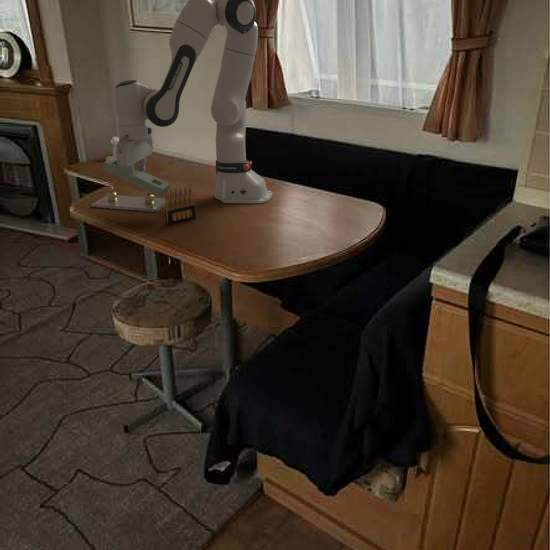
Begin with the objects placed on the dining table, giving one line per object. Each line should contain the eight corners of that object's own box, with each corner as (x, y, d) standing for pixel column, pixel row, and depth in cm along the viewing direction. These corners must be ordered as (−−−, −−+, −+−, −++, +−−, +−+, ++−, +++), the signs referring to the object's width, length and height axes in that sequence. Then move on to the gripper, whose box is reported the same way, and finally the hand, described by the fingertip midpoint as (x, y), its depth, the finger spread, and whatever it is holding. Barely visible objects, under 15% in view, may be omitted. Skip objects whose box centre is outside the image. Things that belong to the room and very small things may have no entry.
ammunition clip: (168, 225, 182) (165, 191, 176) (166, 224, 183) (162, 189, 178) (196, 219, 187) (193, 185, 182) (193, 217, 189) (191, 184, 184)
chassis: (170, 202, 205) (168, 184, 202) (157, 212, 194) (154, 193, 191) (108, 197, 210) (105, 180, 207) (91, 207, 200) (88, 189, 197)
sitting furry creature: (123, 158, 269) (120, 133, 264) (131, 161, 263) (128, 136, 258) (105, 161, 264) (102, 136, 259) (113, 164, 258) (109, 139, 253)
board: (167, 191, 188) (170, 183, 187) (160, 197, 183) (162, 189, 182) (111, 164, 189) (112, 157, 187) (102, 169, 184) (104, 161, 182)
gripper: (126, 139, 169) (132, 182, 175) (154, 127, 187) (158, 166, 193) (108, 138, 170) (114, 181, 176) (137, 126, 188) (142, 166, 194)
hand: (137, 173), depth 185 cm, fingers closed on board, 6 cm apart
